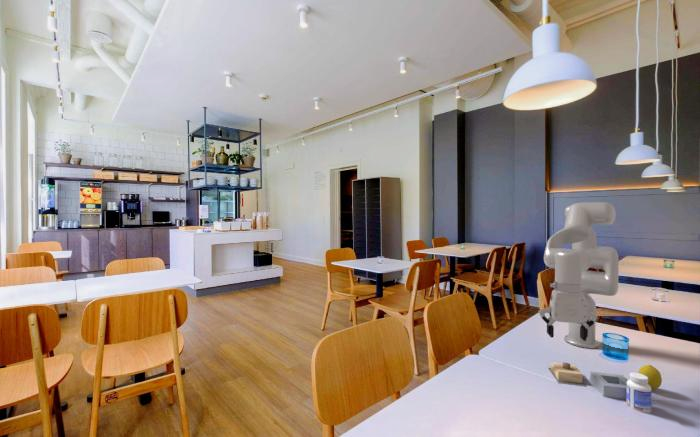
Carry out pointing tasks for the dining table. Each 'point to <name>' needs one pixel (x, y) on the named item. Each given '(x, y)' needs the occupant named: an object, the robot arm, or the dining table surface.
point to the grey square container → (609, 384)
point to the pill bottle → (639, 393)
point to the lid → (566, 372)
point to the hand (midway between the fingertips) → (566, 337)
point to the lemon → (651, 376)
